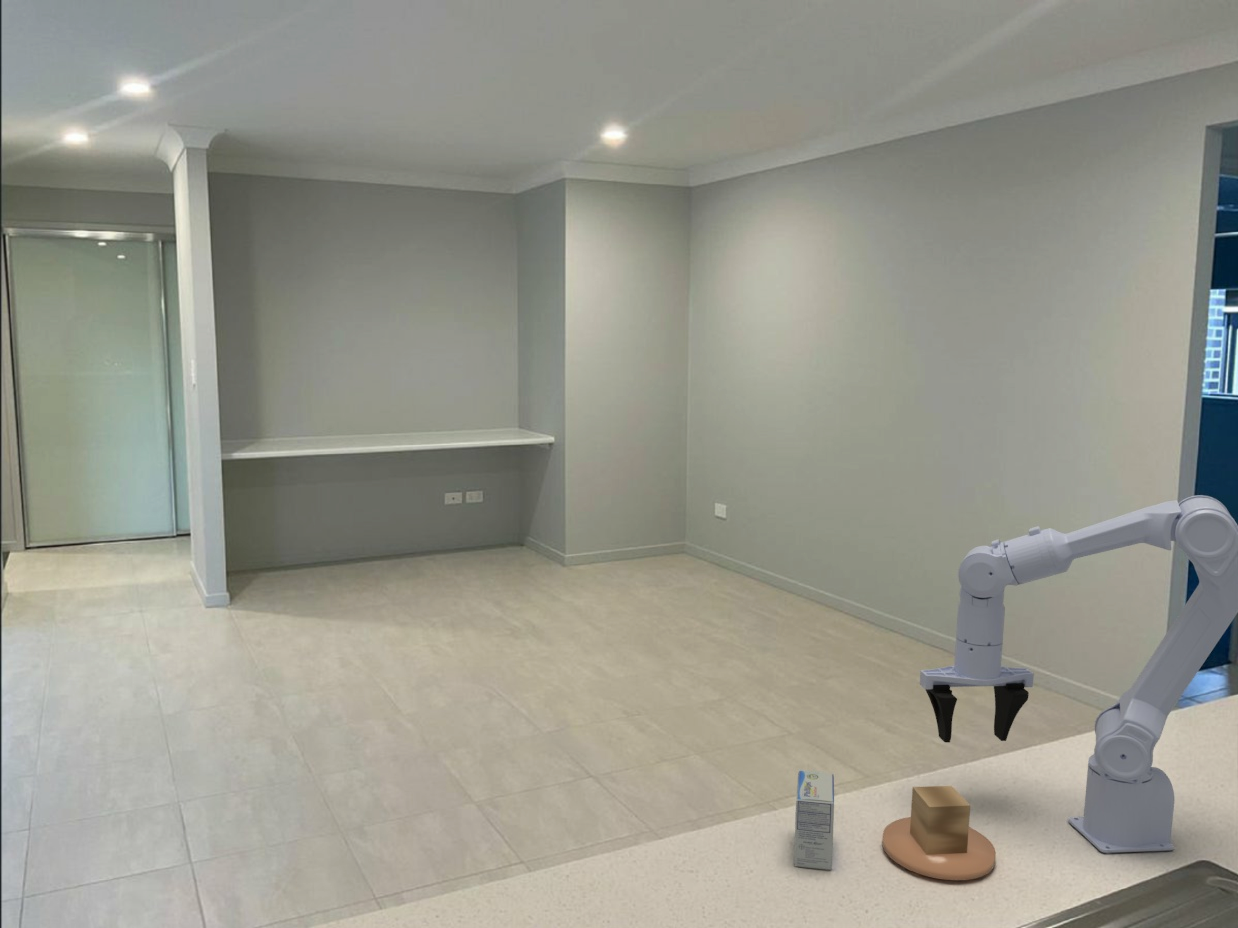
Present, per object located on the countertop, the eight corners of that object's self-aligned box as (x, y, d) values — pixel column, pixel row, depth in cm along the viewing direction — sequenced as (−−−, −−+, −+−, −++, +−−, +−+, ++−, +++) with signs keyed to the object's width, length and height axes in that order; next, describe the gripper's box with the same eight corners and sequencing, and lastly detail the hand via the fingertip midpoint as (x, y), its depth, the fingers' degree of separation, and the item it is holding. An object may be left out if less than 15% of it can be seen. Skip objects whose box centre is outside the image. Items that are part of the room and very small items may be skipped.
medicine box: (831, 872, 116) (835, 802, 115) (793, 867, 117) (796, 798, 116) (831, 837, 124) (834, 772, 122) (795, 833, 125) (797, 768, 123)
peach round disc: (965, 824, 127) (966, 814, 127) (1015, 881, 114) (1016, 870, 114) (867, 828, 126) (867, 817, 126) (905, 886, 113) (906, 874, 113)
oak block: (948, 831, 123) (951, 785, 122) (966, 852, 118) (970, 805, 117) (909, 832, 122) (912, 786, 121) (926, 854, 117) (929, 806, 117)
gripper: (1017, 628, 134) (1010, 724, 136) (913, 630, 132) (907, 727, 134) (1044, 645, 127) (1036, 746, 129) (934, 647, 125) (928, 749, 127)
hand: (972, 738), depth 131 cm, fingers open, 7 cm apart
